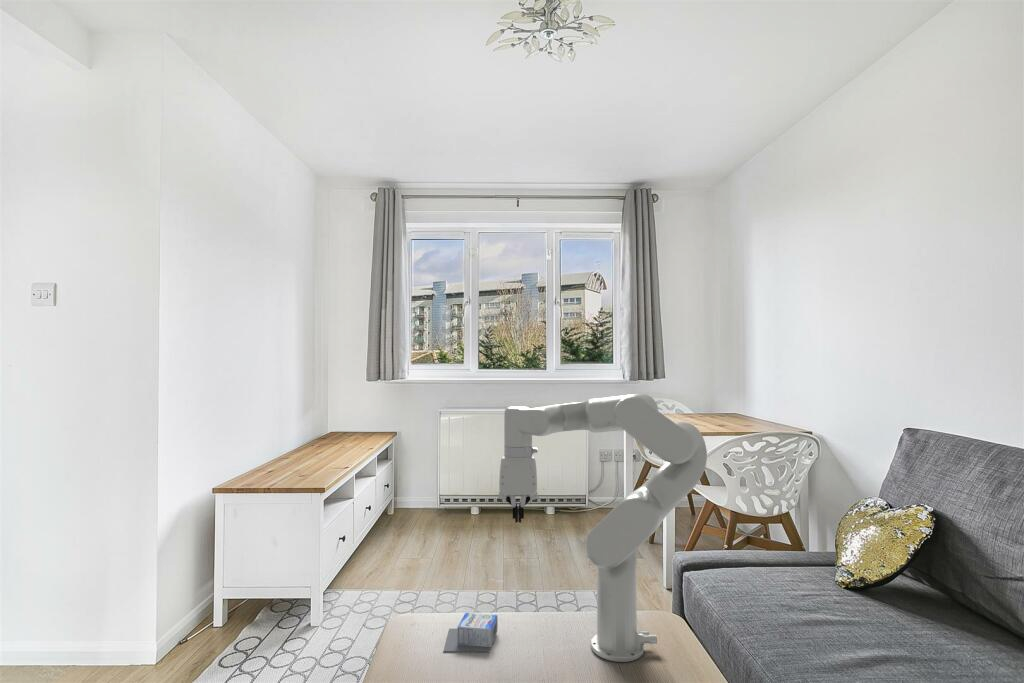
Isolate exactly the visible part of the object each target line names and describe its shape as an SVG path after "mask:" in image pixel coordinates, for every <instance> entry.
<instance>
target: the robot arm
mask: <svg viewBox="0 0 1024 683" xmlns="http://www.w3.org/2000/svg"><path fill="white" fill-rule="evenodd" d="M503 423H504V425H503V426H504V427H503V428H504V431H503V432H504V437H503V438H504V443H503V444H504V453H503V454H504V455H503V456H501V460H500V466H499V480H498V481H499V482H498V483H499V492H498V499H499V500H503V501H506V502H507V503H508V505H510V506H511V507H512V519H514V520H515V521H514V522H515V524H516V523H519V524H521V523H522V519H524V518H525V516H524V515H525V513H524V512H525V509H524V508H525V507H526V505H527V504H528V503H529V502H530V501H535V500H537V499H538V498H539V494H538V474H537V471H538V469H537V463H536V462H537V461H536V458H535V456H533V455H534V454H538V448H537V447H534V446H533V436H534V437H545V436H549V435H551V434H556V433H562V432H571V431H589V432H591V433H607V432H617V431H618V432H620V431H624V432H625V433H626V434H627V435H629V436H630V437H631V438H633V439H634V440H635V441H637V442H638V443H639V444H641V445H642V446H643V447H645V449H647V450H648V451H650V452H651V453H652V454H654V455H655V456H656V457H658V458H659V459H661V460H662V461H664V463H663V464H662V465H661V466H660V467H659V468H658V469H657V470H656V471H655V472H654V473H653V474H652V476H650V477H649V478H648V479H647V480H646V481H645V482H644V483H643V484H642V485H641V486H639V487H638V488H637V489H634V490H633V491H632V492H630V493H629V494H628V495H626V496H625V497H624V498H623V499H622V500H621V501H620V502H618V504H617V505H615V507H614V508H612V510H610V512H609V513H607V514H606V515H605V516H604V517H603V518H602V519H601V520H600V521H599V522H598V523H597V524H596V526H594V527H593V528H592V529H591V530H590V531H589V533H588V534H587V536H586V539H585V542H584V543H585V544H584V546H585V548H584V549H585V553H586V556H587V558H588V560H589V561H590V562H591V564H593V565H594V566H596V628H597V629H596V634H595V635H593V637H592V638H591V639H590V649H591V651H592V652H593V653H594V654H596V655H597V656H598V657H600V658H602V659H603V660H607V661H610V662H617V663H627V662H633V661H636V660H638V659H640V658H641V657H642V656H643V654H644V650H645V649H644V648H645V647H644V646H645V644H649V645H657V644H658V637H657V634H650V631H649V630H642V631H641V630H640V629H638V626H637V624H638V623H637V620H638V619H637V618H638V614H637V613H638V612H637V610H638V608H637V604H638V603H637V598H638V597H637V585H638V584H637V568H638V567H637V564H638V553H639V552H638V551H639V547H641V546H642V544H644V543H645V542H646V541H647V540H648V539H649V538H650V537H651V536H652V535H653V534H654V533H655V532H656V531H657V530H658V528H659V527H660V525H661V524H662V523H663V521H664V520H665V518H666V517H667V516H668V515H669V514H670V513H671V512H672V511H673V510H674V509H675V508H676V507H677V506H678V505H679V504H680V502H682V501H683V500H684V499H685V498H686V497H687V496H688V495H689V494H690V493H691V491H693V489H694V488H695V487H696V486H697V485H698V484H699V481H700V480H701V478H702V477H703V475H704V472H705V469H706V466H707V460H708V450H707V445H706V442H705V439H704V436H703V434H702V433H701V431H700V430H699V429H698V428H697V427H696V426H695V425H694V424H692V423H689V422H685V421H680V422H679V421H678V422H674V421H673V420H671V419H670V418H668V417H667V416H666V415H664V414H663V413H662V412H660V411H659V407H658V404H657V402H656V400H655V399H654V398H653V397H652V396H650V395H648V394H646V393H635V394H632V393H631V394H625V395H615V396H608V397H606V396H605V397H597V398H590V399H586V400H585V401H580V402H570V403H569V402H568V403H563V404H562V403H561V404H552V405H544V406H538V407H532V408H530V407H529V406H521V405H516V406H515V405H514V406H513V405H512V406H507V407H506V408H505V409H504V422H503ZM517 496H519V497H520V502H519V503H518V502H517V499H516V497H517Z"/></svg>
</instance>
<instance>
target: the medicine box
mask: <svg viewBox="0 0 1024 683" xmlns="http://www.w3.org/2000/svg"><path fill="white" fill-rule="evenodd" d="M498 620H499V619H498V615H497V614H486V613H474V612H465V613H464V615H463V616H462V618H461V620H460V622H459V624H458V625H457V628H456V629H457V640H458V645H468V646H479V647H490V648H491V647H492V646H493V644H494V640H495V638H496V636H497V633H498V627H499V626H498Z"/></svg>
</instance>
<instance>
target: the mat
mask: <svg viewBox="0 0 1024 683" xmlns="http://www.w3.org/2000/svg"><path fill="white" fill-rule="evenodd" d="M457 629H458V628H448V632H447V635H446V639H445V643H444V647H443V650H442V651H443V652H442V653H490V648H491V647H479V646H468V645H458V640H457Z"/></svg>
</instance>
